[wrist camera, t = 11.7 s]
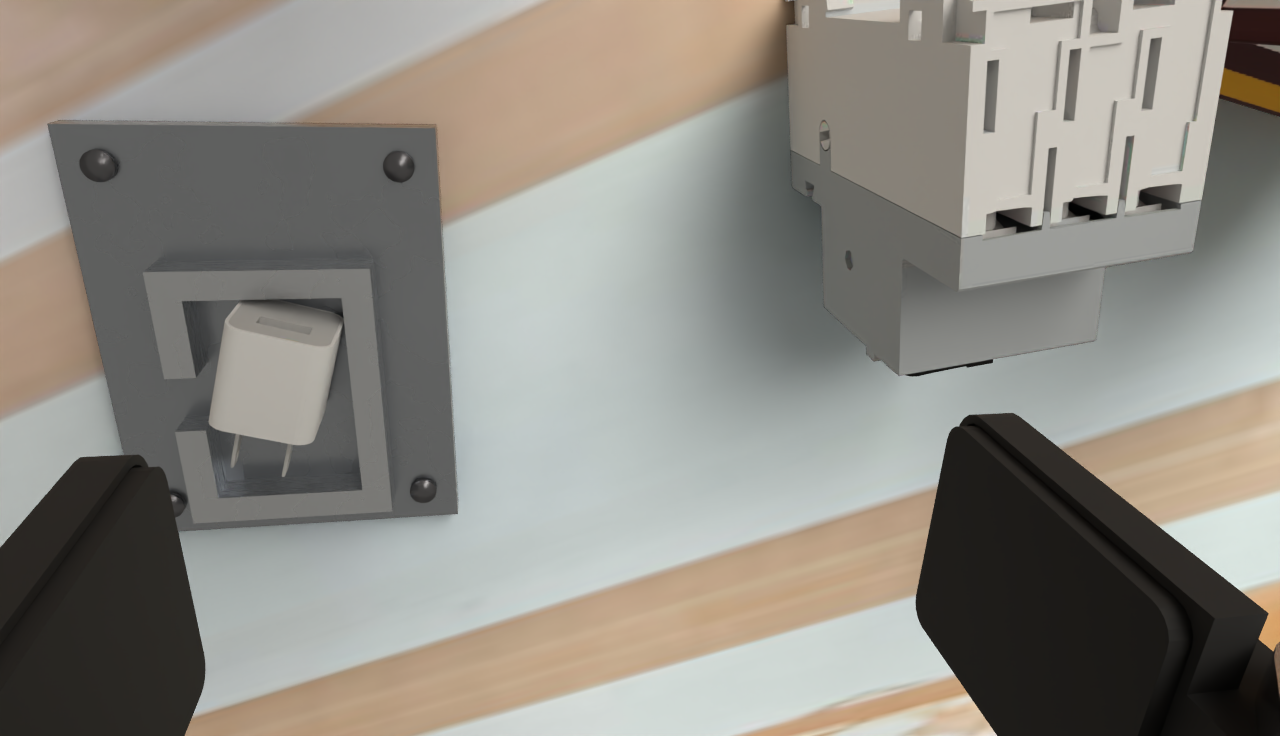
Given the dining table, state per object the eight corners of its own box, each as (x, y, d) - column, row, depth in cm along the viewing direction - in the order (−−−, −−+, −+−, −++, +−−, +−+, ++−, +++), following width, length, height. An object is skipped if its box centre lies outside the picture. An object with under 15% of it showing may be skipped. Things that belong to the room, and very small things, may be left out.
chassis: (59, 120, 33) (28, 129, 30) (436, 124, 35) (433, 133, 33) (149, 521, 40) (129, 552, 38) (458, 502, 42) (456, 531, 40)
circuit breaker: (796, 313, 41) (949, 471, 28) (785, -10, 35) (973, -11, 22) (943, 288, 42) (1163, 431, 28) (957, -32, 36) (1242, -45, 23)
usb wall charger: (346, 315, 37) (331, 351, 33) (316, 455, 39) (299, 502, 35) (246, 292, 35) (219, 326, 32) (222, 437, 38) (194, 484, 34)
